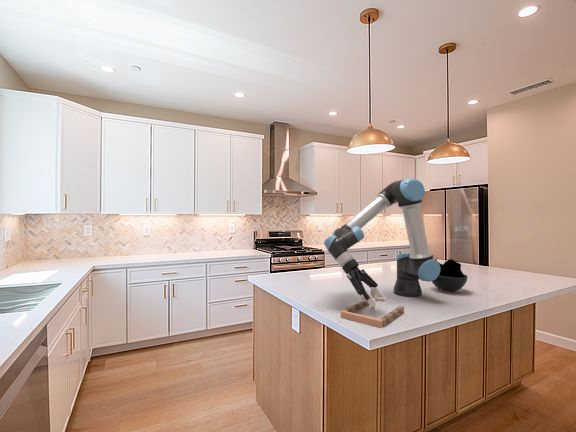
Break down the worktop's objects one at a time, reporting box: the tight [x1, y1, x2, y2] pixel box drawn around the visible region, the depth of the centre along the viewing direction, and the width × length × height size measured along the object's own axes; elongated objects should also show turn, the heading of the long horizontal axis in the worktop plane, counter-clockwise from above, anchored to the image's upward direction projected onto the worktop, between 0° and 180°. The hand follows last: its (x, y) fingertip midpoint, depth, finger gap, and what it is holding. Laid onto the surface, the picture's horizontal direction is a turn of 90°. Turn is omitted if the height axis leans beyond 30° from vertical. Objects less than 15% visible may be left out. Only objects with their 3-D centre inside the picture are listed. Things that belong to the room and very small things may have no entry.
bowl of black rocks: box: [431, 258, 468, 293], centre depth 174 cm, size 20×20×19 cm
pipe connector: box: [360, 287, 386, 312], centre depth 133 cm, size 10×10×10 cm
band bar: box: [340, 310, 384, 328], centre depth 123 cm, size 2×18×2 cm, turn 49°
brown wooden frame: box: [341, 300, 405, 327], centre depth 132 cm, size 23×19×2 cm
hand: (379, 302), depth 130 cm, fingers closed on pipe connector, 9 cm apart
